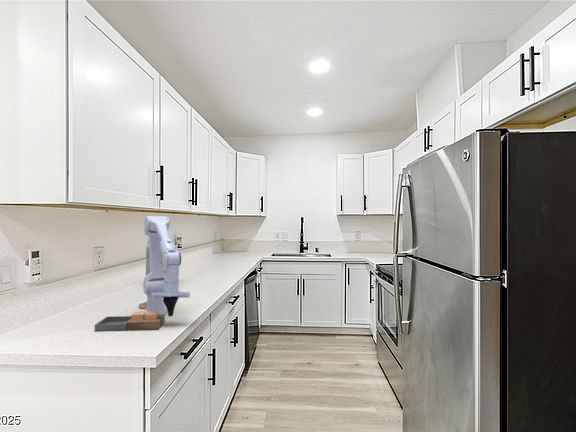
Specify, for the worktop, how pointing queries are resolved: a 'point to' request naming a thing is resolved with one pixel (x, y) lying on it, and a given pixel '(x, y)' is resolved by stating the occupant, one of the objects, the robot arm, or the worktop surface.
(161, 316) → the board
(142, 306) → the fish fossil
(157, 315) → the tile
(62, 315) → the worktop surface
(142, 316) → the tile
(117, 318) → the box
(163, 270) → the device
